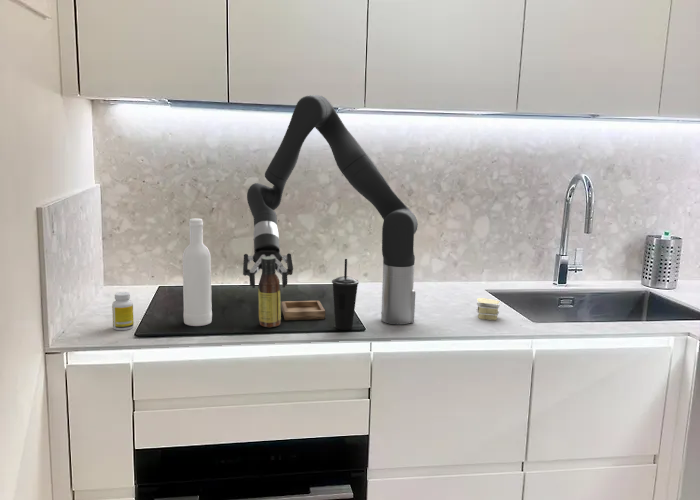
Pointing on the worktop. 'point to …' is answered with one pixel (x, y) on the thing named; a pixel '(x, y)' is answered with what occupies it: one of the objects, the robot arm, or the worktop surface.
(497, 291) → the worktop surface
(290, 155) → the robot arm
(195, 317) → the bottle
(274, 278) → the sauce bottle
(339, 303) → the drinking cup
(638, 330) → the worktop surface
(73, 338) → the worktop surface
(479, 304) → the pale yellow layered block
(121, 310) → the supplement bottle
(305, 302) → the tray
